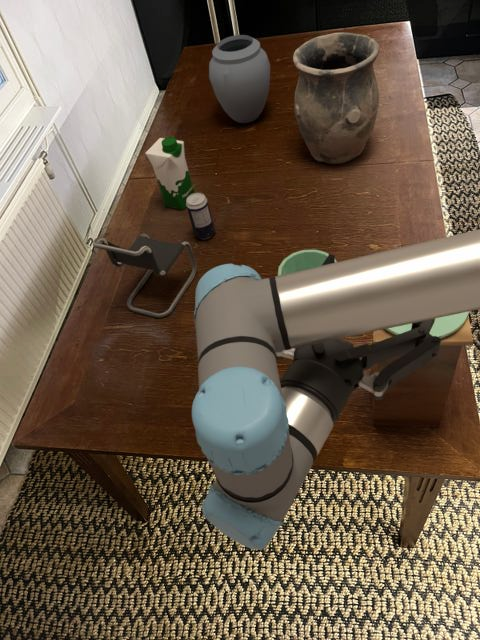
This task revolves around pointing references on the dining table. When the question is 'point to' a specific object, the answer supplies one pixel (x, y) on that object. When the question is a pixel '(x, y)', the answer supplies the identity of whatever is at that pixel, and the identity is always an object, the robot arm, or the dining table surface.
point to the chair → (148, 263)
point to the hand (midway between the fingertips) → (380, 276)
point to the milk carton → (171, 171)
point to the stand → (420, 384)
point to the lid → (438, 325)
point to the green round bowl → (302, 261)
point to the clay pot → (336, 95)
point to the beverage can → (200, 215)
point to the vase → (240, 77)
